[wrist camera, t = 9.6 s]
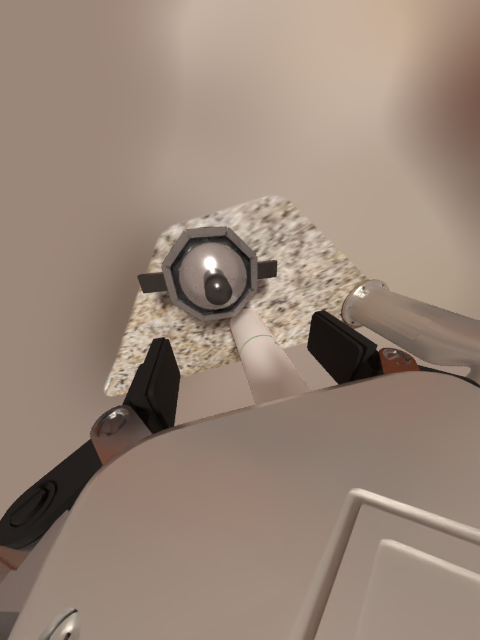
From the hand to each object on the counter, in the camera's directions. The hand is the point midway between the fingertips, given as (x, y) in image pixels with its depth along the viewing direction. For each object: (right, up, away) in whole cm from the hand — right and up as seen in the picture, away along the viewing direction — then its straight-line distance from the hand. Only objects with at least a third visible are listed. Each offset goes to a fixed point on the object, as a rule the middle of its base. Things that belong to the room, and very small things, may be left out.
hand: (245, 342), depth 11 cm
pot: (-6, +11, +21) cm, 24 cm away
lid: (-4, +8, +15) cm, 17 cm away
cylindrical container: (+1, +1, +28) cm, 28 cm away
